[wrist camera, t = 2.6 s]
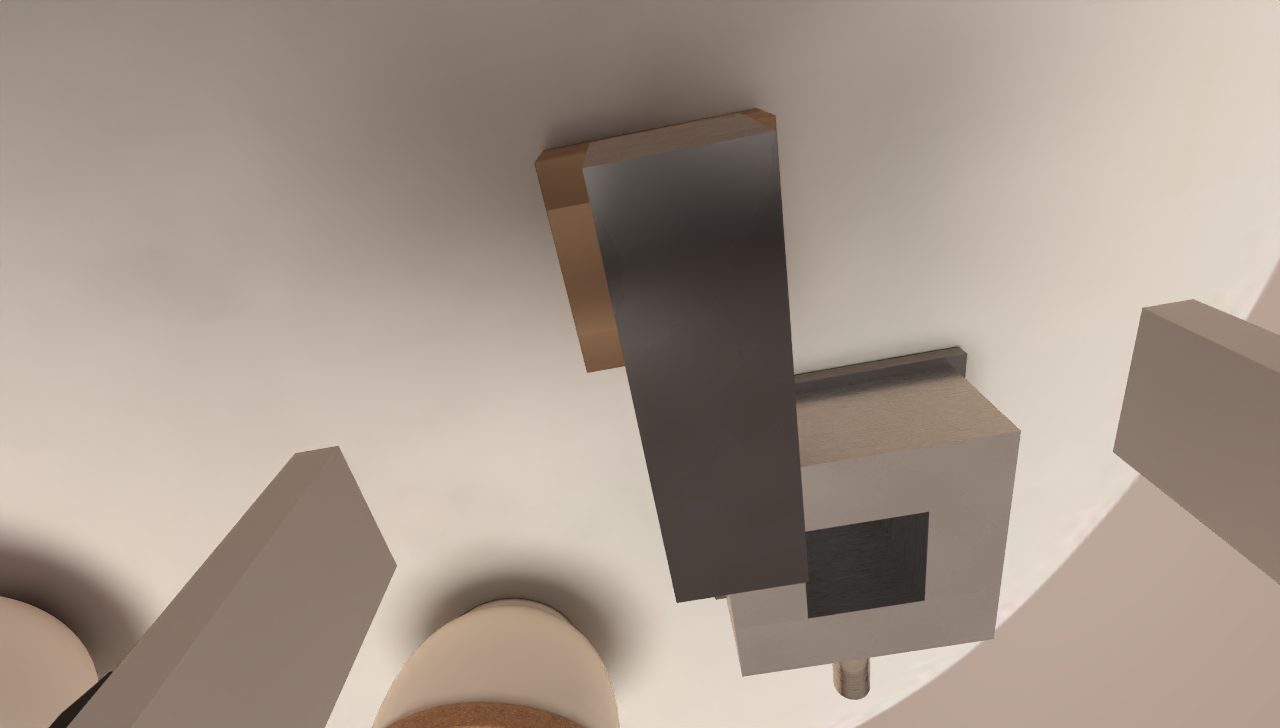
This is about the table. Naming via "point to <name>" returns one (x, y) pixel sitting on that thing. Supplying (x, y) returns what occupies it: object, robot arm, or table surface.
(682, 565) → the bar
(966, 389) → the square block with stud
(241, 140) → the table surface
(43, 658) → the decorative ball
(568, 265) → the key stand
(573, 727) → the lidded jar
